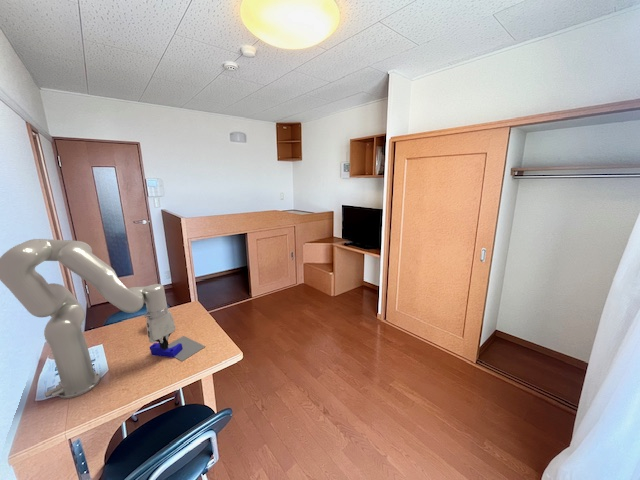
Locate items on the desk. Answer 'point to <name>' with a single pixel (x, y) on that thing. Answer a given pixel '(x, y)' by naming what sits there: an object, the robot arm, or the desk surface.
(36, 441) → the desk surface
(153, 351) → the blue angular piece
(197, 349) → the pad
